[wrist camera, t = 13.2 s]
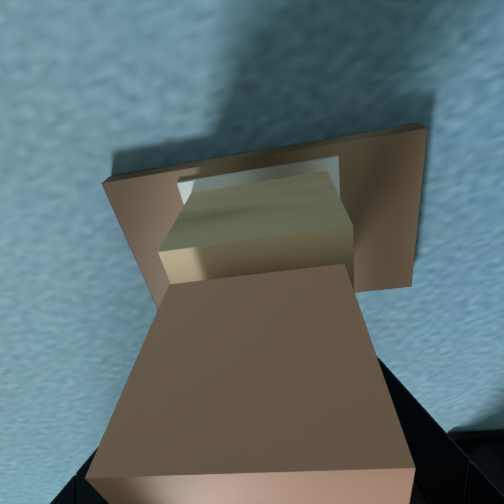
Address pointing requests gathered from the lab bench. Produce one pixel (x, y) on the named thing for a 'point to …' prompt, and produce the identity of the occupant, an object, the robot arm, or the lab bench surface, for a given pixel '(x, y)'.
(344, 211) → the oak block
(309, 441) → the terracotta block
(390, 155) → the board
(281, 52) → the lab bench surface
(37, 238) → the lab bench surface
